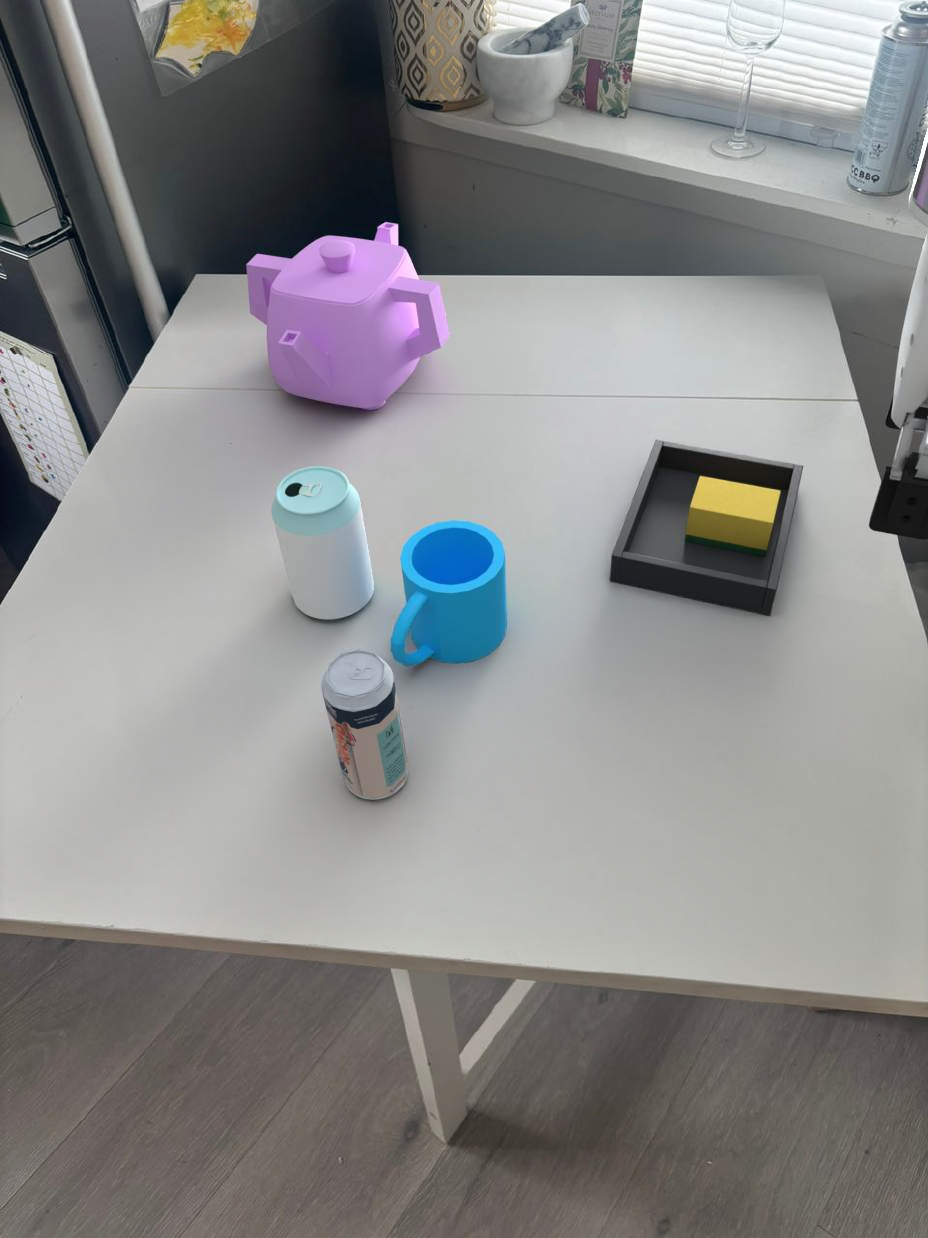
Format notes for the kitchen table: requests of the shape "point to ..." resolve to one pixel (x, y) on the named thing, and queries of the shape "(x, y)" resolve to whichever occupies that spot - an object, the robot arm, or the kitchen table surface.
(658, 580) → the tray
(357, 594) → the can
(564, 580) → the kitchen table surface
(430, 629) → the mug
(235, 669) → the kitchen table surface
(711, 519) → the sponge
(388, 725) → the beer can
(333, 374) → the teapot
